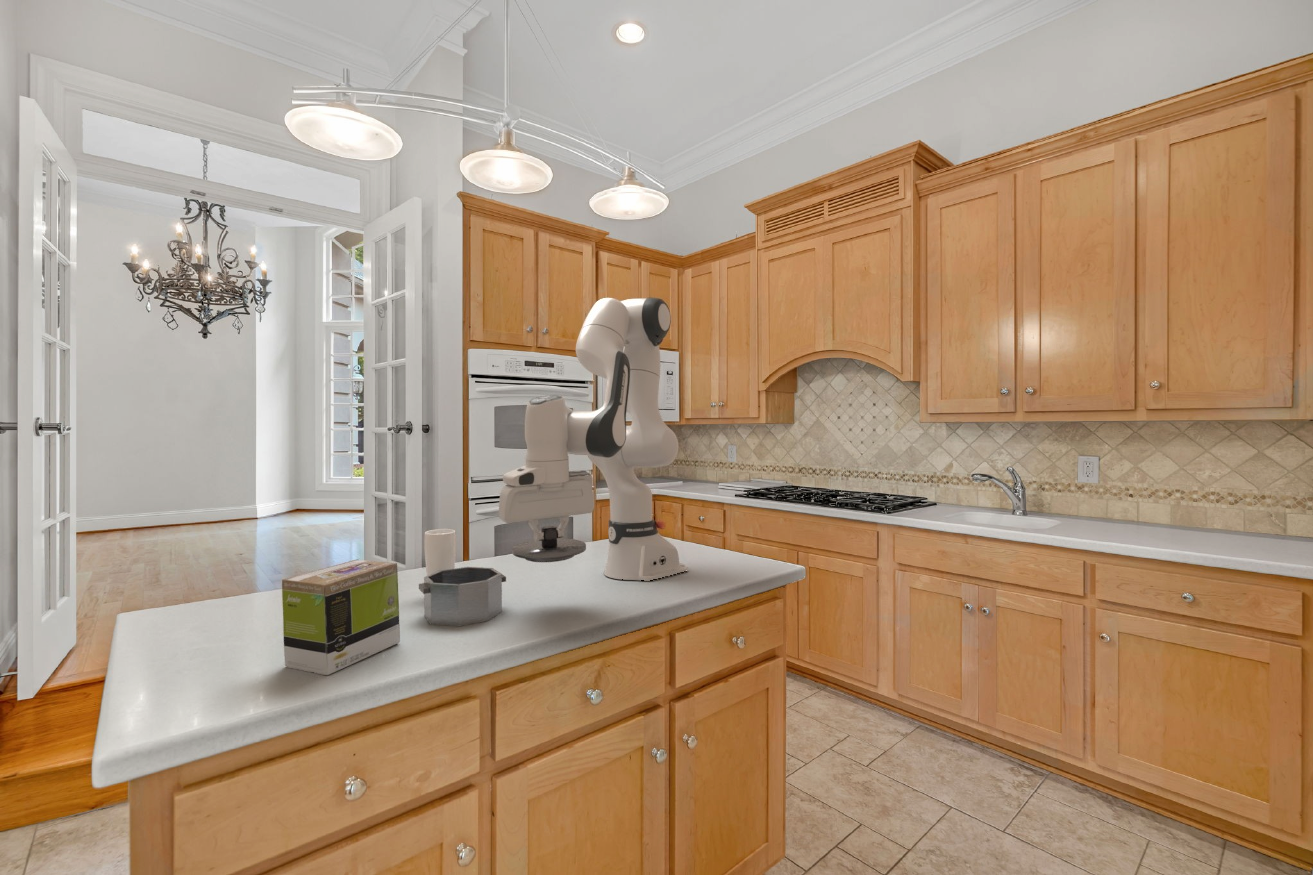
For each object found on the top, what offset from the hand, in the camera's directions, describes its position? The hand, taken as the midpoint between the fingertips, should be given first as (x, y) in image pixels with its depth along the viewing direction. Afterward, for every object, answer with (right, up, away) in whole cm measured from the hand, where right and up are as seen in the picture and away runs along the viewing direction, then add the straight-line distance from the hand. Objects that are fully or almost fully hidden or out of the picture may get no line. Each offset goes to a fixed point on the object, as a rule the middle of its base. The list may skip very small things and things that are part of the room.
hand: (549, 539), depth 123 cm
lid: (0, -4, 0) cm, 4 cm away
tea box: (-31, -16, -23) cm, 42 cm away
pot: (-18, -15, -1) cm, 23 cm away
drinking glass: (-27, -15, +10) cm, 32 cm away
